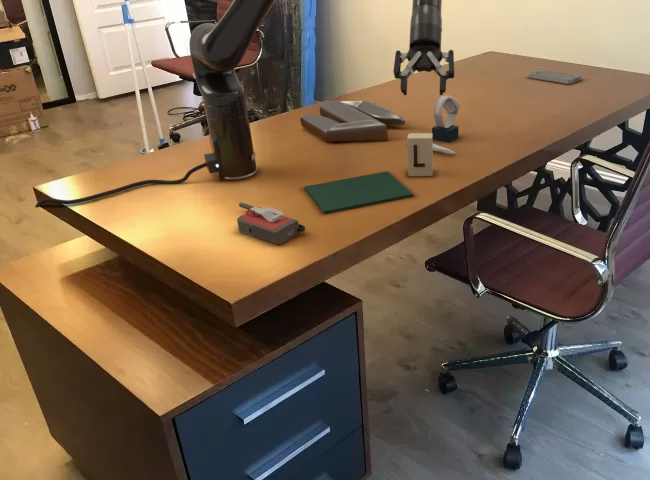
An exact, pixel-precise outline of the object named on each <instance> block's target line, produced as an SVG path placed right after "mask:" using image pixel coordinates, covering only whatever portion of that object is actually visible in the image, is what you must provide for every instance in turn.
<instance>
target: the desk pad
mask: <svg viewBox="0 0 650 480" xmlns="http://www.w3.org/2000/svg"><path fill="white" fill-rule="evenodd" d="M304 189H305V191H306V193H307V195H308V196H309V197H310V198H311V199H312V201H313V202H314V203H315V204H316V205H317V207H318V208H319V209H320V211H321V212H322V213H323V214H324V215H325V214H330V213H336V212H340V211H341V212H342V211H346V210H350V209H356V208H361V207H365V206H371V205H376V204H381V203H387V202H391V201H396V200H400V199H401V200H403V199H406V198H411V197H413V196H414V195H413V192H411V191H410V190H409V189H408V188H407V187H406V186H405V185H403V184H402V182H400V181H399V180H397V178H396V177H394V176H393V175H392V174H391V173H390V172H388V171H381V172H375V173H370V174H365V175H359V176H354V177H349V178H343V179H337V180H331V181H326V182H320V183H316V184H310V185H305V186H304Z"/></svg>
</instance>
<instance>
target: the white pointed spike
mask: <svg viewBox="0 0 650 480" xmlns="http://www.w3.org/2000/svg"><path fill="white" fill-rule="evenodd" d="M433 152H440V153H443V154H450V155H455V154H456V152H455V151H453V150H452V149H448V148H446V147H444V146H441V145H438V144H435V143H433Z"/></svg>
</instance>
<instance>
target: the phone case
mask: <svg viewBox="0 0 650 480" xmlns="http://www.w3.org/2000/svg"><path fill="white" fill-rule="evenodd" d="M528 76H529V77H528V78H529V79H535V80H540V81H547V82H551V83H552V82H553V83H559V84H564V85H572V84H574V83H576V82H578V81H581V80H582V75H581V74H575V73H568V72H564V71H563V72H562V71H557V70H556V71H555V70H549V69H538V70H535V71H533V72H532V71H531V72H530V73H529V74H528Z"/></svg>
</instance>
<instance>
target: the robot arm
mask: <svg viewBox="0 0 650 480" xmlns="http://www.w3.org/2000/svg"><path fill="white" fill-rule="evenodd" d="M275 2H276V0H232V1H231V3H230V5H229V6H228V8H227V9H226V11H225V12H224V14H223V15H222V16H221V18H220V19H219V21H217V23H212V22H205V23H201V24H199V25H197V26H196V27H195V28H193V30H192V32H191V34H190V37H189V43H188V44H189V45H188V46H189V54H190V59H191V63H192V64H191V65H192V69H193V72H194V77H195V81H196V85H197V88H198V91H199V92H200V94H201V97H202V101H203V106H204V111H205V116H206V122H207V128H208V132H209V133H208V138H209V142H210V149H211V153H205V154H203V157H204V160H205V162H203V163H201V164H198V165H196V166H194V167H193V168H191V169H189V170H188V171H187V172H186V174H185V175H184V176H183V177H182V178H180V179H175V180H165V179H145V180H140V181H137V182H133V183H129V184H126V185H123V186H120V187H117V188H114V189H109V190H106V191H103V192H100V193H99V192H98V193H96V194H93V195H89V196H84V197H81V198H75V199H68V200H67V199H58V198H52V197H46V198H42V199H40V200H39V201H38V202H37V203H36V204H35V206H34V208H40V207H42V205H44V204H47V203H54V204H59V205H76V204H81V203H85V202H90V201H93V200H97V199H101V198H104V197H107V196H110V195H114V194H117V193H120V192H123V191H127V190H130V189H133V188H137V187H140V186H145V185H153V184H154V185H155V184H157V185H179V184H182V183H184V182H186V181H187V180H188V179H189V178H190V176H191V175H193V173H195V172H198V171H199V170H201V169H204V168H206V169H207V171H208V172H209V174H216V176H217V178H218V179H219V181H221V182H222V181H240V180H245V179H248V178H249V179H250V178H251V177H253V176H255V175H256V174H258V167H257V162H256V155H257V154H256V151H255V150H254V144H253V137H252V132H251V124H250V119H249V112H248V105H247V100H246V94H245V93H246V92H245V89H244V87H243V85H242V83H241V82H240V80H239V78H238V76H237V74H236V70H235V69H236V68H237V67H238V65H240V63H241V61H242V60H243V58H244V56H245V54H247V53H246V52H247V51H248V49H249V46H250V44H251V43H252V40H253V38H254V36H255V35H256V32H257V31H258V28H259V27H260V24H261V23H262V21H263V20H264V19H265V17H266V16H267V14H268V13H269V11H270V10H271V8H272V6H273V5H274V3H275ZM442 4H443V0H412V7H411V17H410V24H409V30H410V31H409V44H408V51H407V52H401V50H399V49H398V50H396V51H395V56H394V63H393V77H394V78H395V80H400V86H399V87H400V92H401V94H402V93H403V96H408V80H409V78H410V77H411V76H413V75H414V73H415V72H416V71H417V72H418V73H421V72H427V73H431V72H432V71H434V73H435V75H437V76H438V77H439V96H444V94H445V93H446V92H447V80H448V79H454V78H455V55H454V52H455V51H454V50H453V49H449V50H448V51H446V52H445V51H444V52H443V51H442V32H443V17H442V7H443V5H442ZM443 59H444V61H445V62H446V63H448V70H445V69H444V67H443V66H442V64H441V62H442V60H443ZM405 60H407V61H408V63H407V64H406V65H405V67H404V68H403V70H402V71H401V68H402V64H404V62H405Z"/></svg>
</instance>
